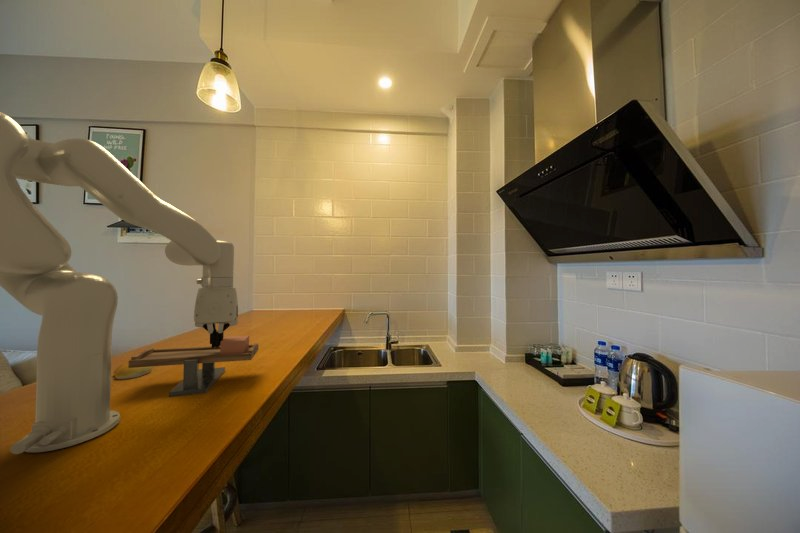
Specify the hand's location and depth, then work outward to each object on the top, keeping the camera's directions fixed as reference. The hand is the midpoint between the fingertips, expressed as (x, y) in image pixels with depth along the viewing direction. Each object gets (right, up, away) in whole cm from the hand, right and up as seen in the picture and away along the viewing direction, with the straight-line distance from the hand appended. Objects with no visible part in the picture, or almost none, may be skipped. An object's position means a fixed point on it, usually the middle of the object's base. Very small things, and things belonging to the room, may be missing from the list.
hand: (216, 346), depth 79 cm
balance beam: (-4, -3, -1) cm, 5 cm away
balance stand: (-4, -10, -1) cm, 11 cm away
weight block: (+5, -2, +1) cm, 5 cm away
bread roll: (-28, -10, +4) cm, 31 cm away
